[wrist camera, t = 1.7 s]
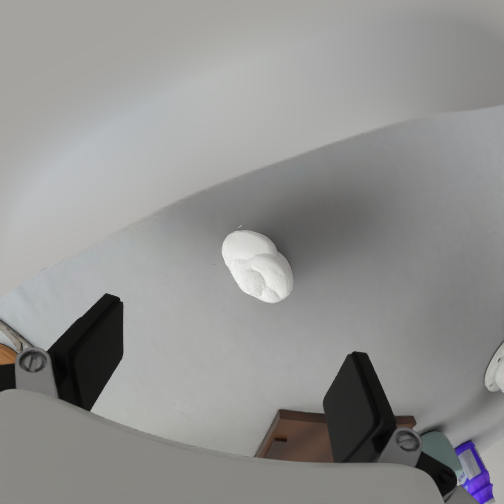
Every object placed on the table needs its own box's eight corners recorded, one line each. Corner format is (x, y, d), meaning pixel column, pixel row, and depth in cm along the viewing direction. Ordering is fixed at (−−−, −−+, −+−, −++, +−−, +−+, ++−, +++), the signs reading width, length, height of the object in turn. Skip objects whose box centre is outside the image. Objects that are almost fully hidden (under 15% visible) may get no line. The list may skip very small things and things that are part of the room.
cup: (406, 434, 32) (424, 484, 22) (448, 418, 31) (470, 462, 22) (398, 457, 34) (412, 501, 25) (437, 443, 33) (454, 483, 24)
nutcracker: (61, 370, 30) (59, 389, 31) (63, 366, 31) (61, 386, 32) (-14, 308, 28) (-13, 330, 29) (-11, 306, 29) (-10, 328, 30)
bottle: (451, 448, 35) (477, 512, 18) (474, 435, 34) (503, 495, 17) (447, 462, 37) (469, 519, 20) (468, 450, 36) (493, 505, 19)
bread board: (413, 416, 31) (418, 426, 29) (370, 463, 35) (373, 472, 33) (279, 409, 30) (279, 422, 28) (253, 459, 34) (252, 470, 32)
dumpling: (304, 272, 25) (305, 304, 22) (252, 291, 27) (246, 322, 23) (267, 205, 22) (262, 229, 19) (211, 230, 24) (197, 257, 20)
